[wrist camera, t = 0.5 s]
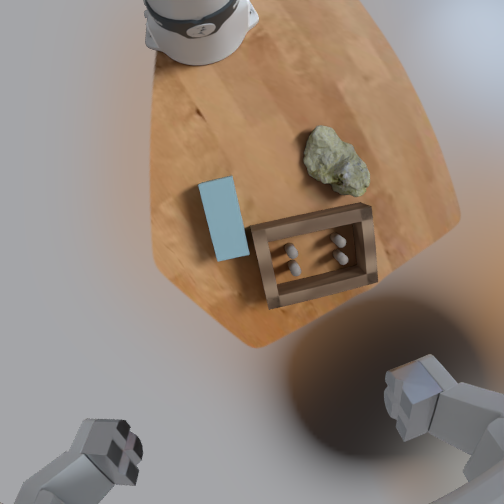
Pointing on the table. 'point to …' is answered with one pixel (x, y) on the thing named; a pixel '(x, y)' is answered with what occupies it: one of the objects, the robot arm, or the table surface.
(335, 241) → the frame
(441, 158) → the table surface
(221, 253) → the light blue rectangular block
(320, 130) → the rock
